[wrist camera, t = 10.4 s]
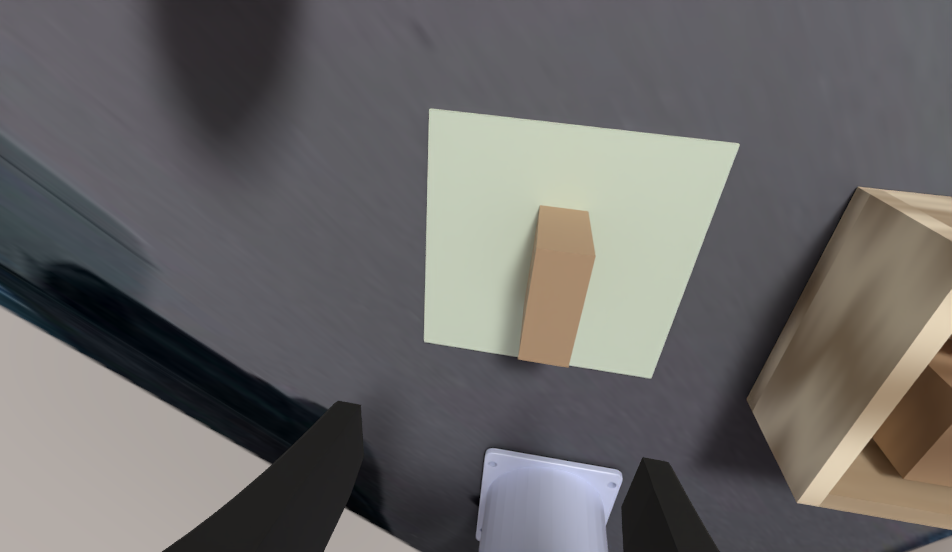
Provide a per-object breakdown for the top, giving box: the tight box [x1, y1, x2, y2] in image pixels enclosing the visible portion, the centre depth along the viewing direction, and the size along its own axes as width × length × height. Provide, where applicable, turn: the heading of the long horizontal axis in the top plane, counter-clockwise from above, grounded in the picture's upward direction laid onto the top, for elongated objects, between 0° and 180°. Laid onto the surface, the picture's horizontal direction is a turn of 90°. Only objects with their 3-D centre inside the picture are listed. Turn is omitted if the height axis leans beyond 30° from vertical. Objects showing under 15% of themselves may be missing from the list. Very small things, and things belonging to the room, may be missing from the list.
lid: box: [424, 108, 740, 378], centre depth 19 cm, size 12×12×5 cm
